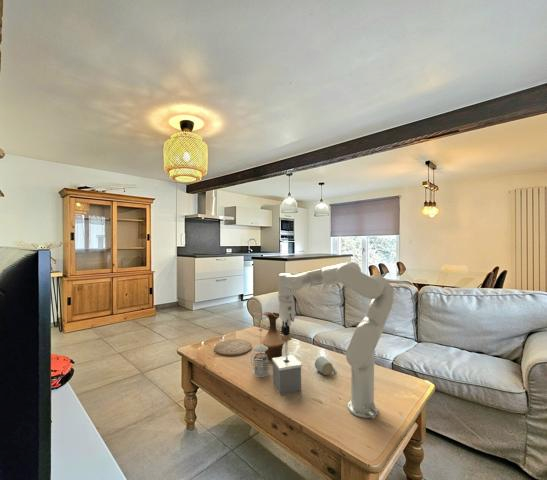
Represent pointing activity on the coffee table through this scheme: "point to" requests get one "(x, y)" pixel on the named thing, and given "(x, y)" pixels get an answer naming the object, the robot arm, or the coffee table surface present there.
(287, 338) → the plunger
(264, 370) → the french press
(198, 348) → the coffee table surface
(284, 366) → the socket block
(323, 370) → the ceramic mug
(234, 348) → the trivet
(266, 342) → the pitcher
